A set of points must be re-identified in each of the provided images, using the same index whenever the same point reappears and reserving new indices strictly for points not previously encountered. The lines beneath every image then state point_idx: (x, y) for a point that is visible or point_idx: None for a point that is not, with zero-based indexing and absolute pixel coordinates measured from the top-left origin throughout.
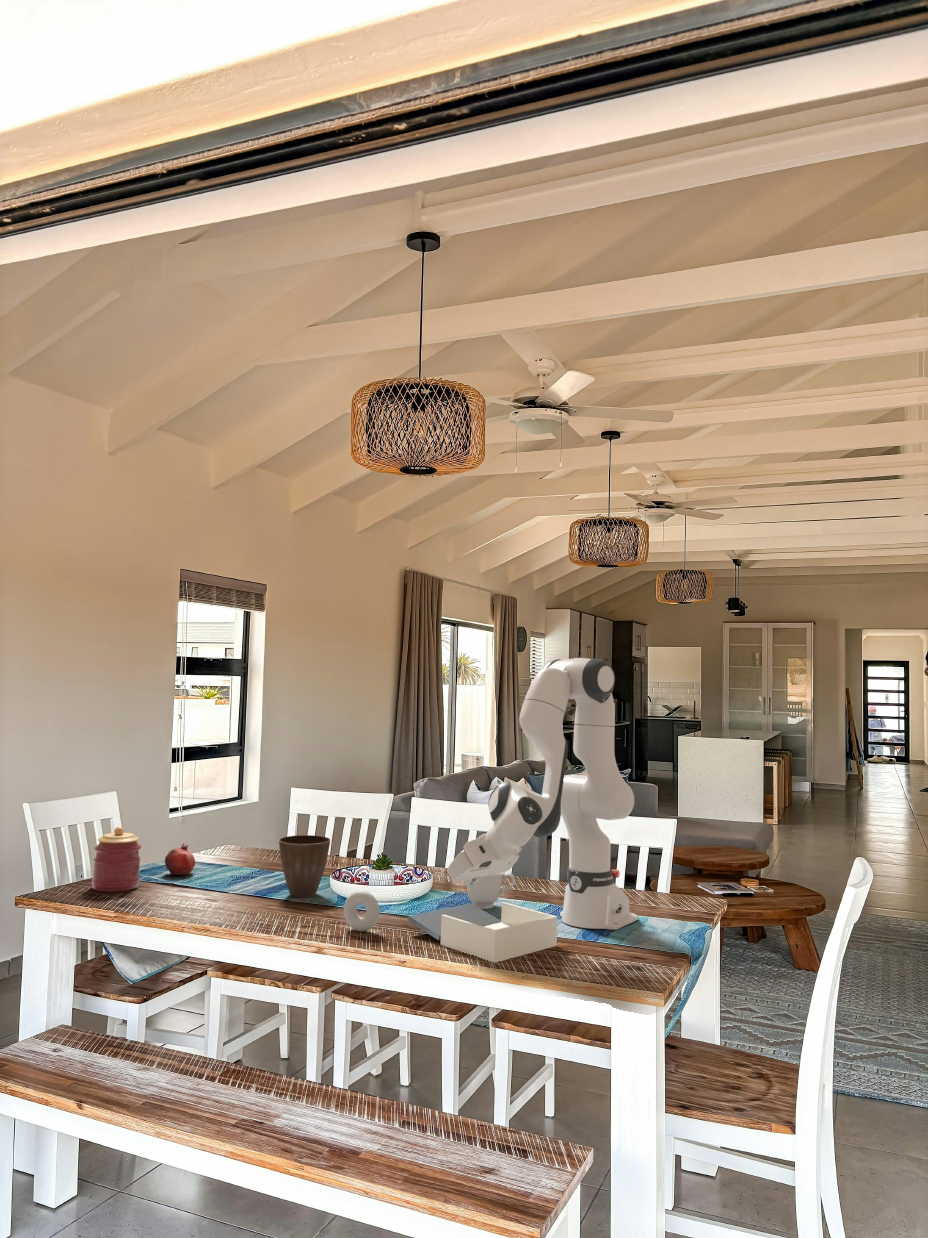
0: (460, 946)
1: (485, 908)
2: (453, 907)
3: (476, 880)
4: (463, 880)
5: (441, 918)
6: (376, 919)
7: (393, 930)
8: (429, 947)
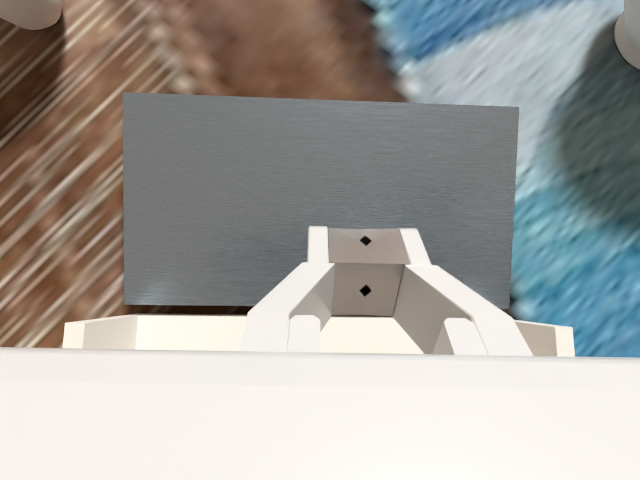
0: None
1: (637, 65)
2: (401, 106)
3: (399, 318)
4: (309, 230)
5: (77, 321)
6: (13, 21)
7: (148, 61)
8: (82, 310)
